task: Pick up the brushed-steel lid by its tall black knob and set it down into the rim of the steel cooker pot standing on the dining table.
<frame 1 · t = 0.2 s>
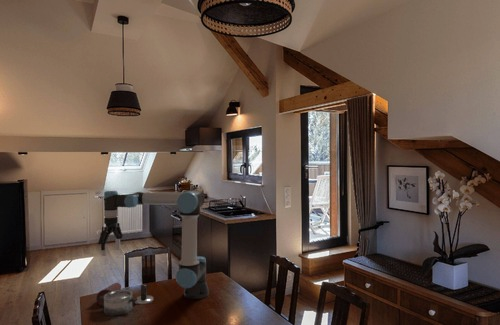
hand: (111, 252, 205), 27 cm above the table, fingers open, 13 cm apart
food: (112, 298, 206), on the table
lid: (143, 300, 203), on the table
pot: (118, 309, 190), on the table
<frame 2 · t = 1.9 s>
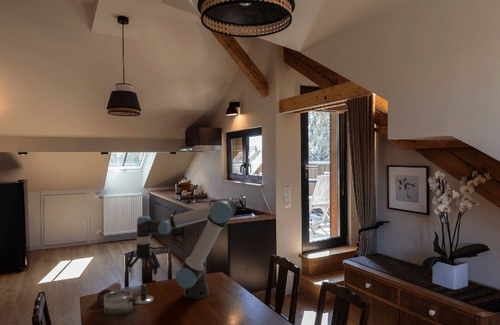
hand: (143, 279, 203), 13 cm above the table, fingers open, 13 cm apart
nothing on the table moved.
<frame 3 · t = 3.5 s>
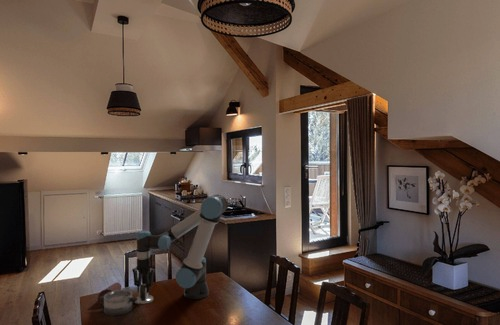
hand: (143, 297, 203), 2 cm above the table, fingers closed on lid, 3 cm apart
lid: (143, 300, 203), on the table, touching gripper
everything else where it was.
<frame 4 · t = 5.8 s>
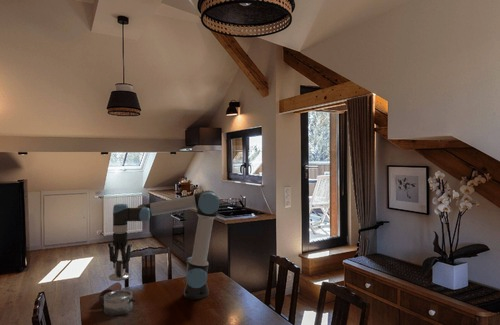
hand: (119, 274, 191), 19 cm above the table, fingers closed on lid, 3 cm apart
lid: (119, 277, 191), point 17 cm above the table, touching gripper
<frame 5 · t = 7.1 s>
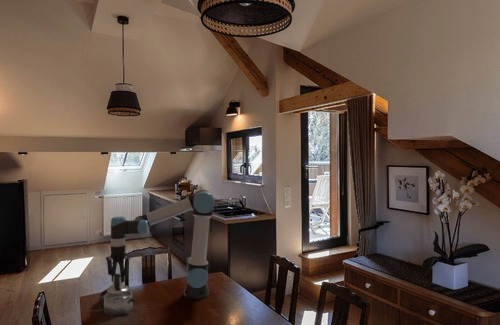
hand: (118, 287, 190), 12 cm above the table, fingers closed on lid, 3 cm apart
lid: (118, 290, 190), point 11 cm above the table, touching gripper
when the fingers open (11 cm above the table, at t = 8.0 s): lid drops 2 cm, resting on pot.
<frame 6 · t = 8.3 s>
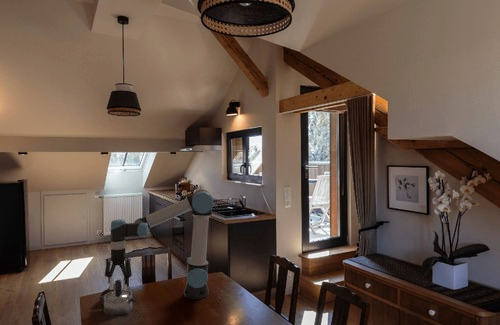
hand: (118, 289, 190), 11 cm above the table, fingers open, 7 cm apart
lid: (118, 296, 190), point 7 cm above the table, touching pot
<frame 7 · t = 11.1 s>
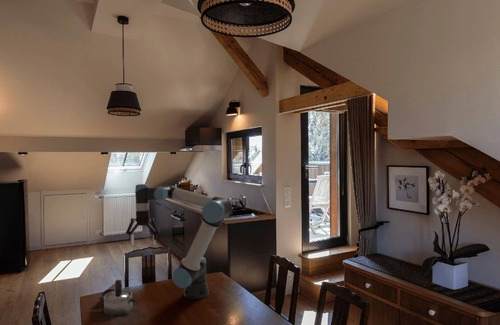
hand: (143, 245, 206), 31 cm above the table, fingers open, 13 cm apart
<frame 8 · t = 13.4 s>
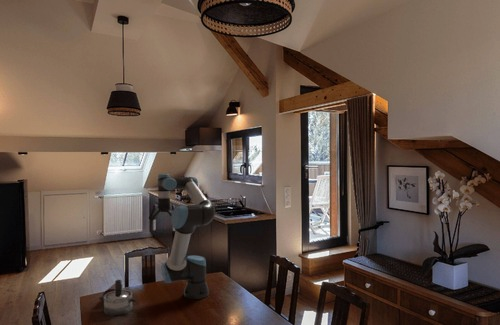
hand: (164, 230, 225), 37 cm above the table, fingers open, 13 cm apart
at the end: lid 0.1 cm off-centre on the pot, point 7.0 cm above the pot's base; lid tilted 0°; the gripper is holding nothing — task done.
